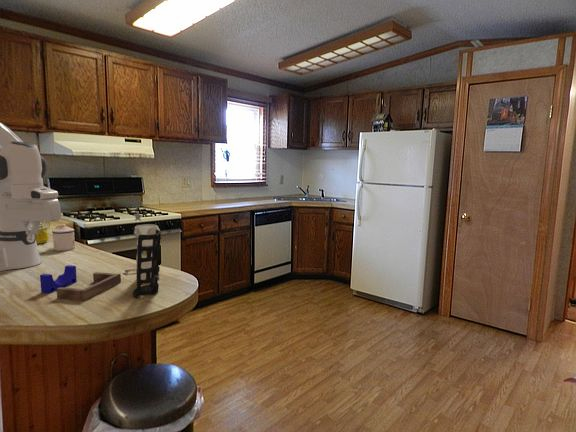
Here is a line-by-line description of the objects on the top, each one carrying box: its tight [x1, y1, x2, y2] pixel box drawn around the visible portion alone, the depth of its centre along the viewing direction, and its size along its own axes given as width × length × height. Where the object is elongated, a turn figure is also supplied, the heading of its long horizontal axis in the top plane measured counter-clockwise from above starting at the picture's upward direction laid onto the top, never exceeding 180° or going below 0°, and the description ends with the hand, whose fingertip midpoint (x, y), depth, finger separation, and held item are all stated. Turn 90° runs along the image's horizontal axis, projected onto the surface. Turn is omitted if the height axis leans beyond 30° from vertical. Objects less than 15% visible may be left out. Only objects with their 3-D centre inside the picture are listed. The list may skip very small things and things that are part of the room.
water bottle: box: [133, 211, 161, 282], centre depth 135 cm, size 8×9×25 cm
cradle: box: [56, 271, 122, 302], centre depth 125 cm, size 10×18×3 cm, turn 170°
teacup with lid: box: [51, 223, 76, 252], centre depth 180 cm, size 12×9×12 cm
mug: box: [35, 222, 51, 245], centre depth 190 cm, size 13×11×12 cm
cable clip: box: [39, 264, 78, 294], centre depth 127 cm, size 12×4×6 cm, turn 170°
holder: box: [132, 229, 162, 299], centre depth 122 cm, size 11×8×20 cm
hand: (32, 234), depth 126 cm, fingers closed
